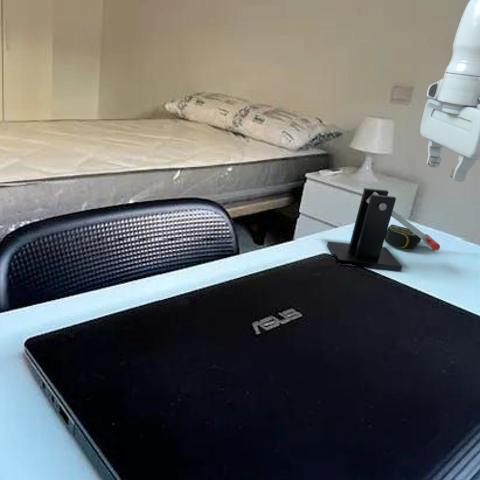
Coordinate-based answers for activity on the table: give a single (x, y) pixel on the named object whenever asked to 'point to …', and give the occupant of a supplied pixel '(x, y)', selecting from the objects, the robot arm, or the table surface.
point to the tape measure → (401, 237)
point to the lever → (414, 229)
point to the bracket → (369, 235)
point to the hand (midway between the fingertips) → (443, 172)
